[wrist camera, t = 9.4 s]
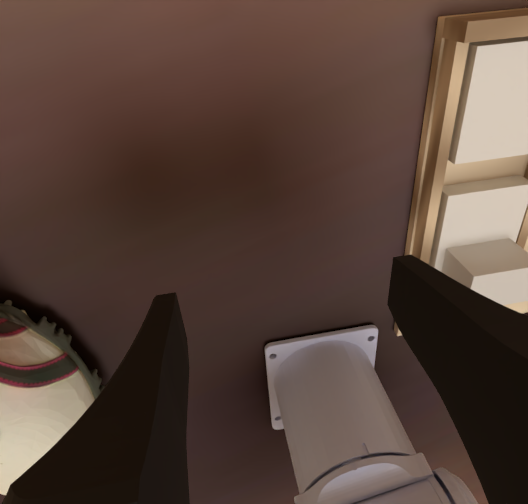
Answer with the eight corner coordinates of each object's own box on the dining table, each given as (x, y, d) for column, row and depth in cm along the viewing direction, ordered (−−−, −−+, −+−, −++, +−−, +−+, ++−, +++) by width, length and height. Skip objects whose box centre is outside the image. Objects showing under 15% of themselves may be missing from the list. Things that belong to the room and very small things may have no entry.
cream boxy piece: (494, 259, 27) (538, 299, 24) (422, 272, 27) (456, 313, 24) (561, 31, 20) (636, 43, 17) (462, 42, 20) (520, 56, 16)
